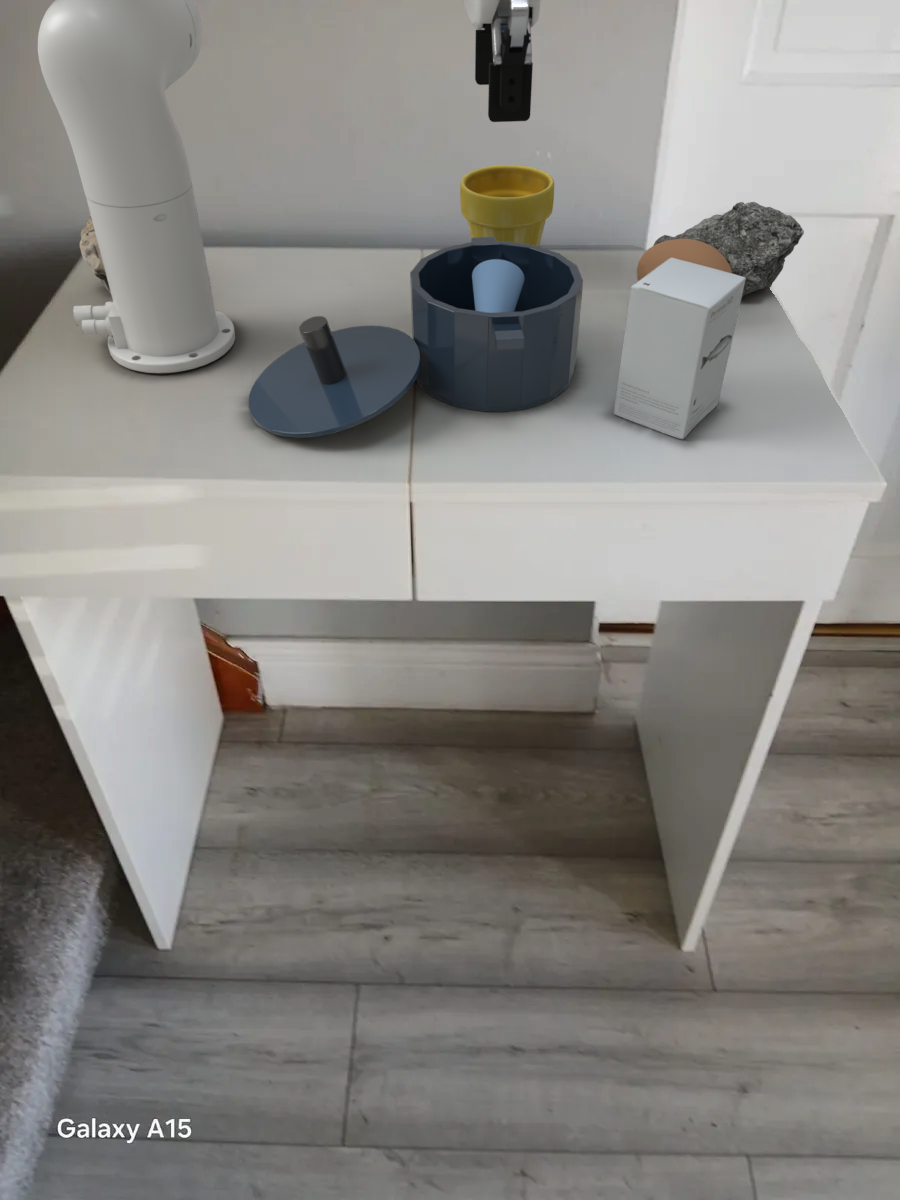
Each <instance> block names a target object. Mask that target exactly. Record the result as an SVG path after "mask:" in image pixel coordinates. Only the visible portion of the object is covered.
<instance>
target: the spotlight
mask: <svg viewBox="0 0 900 1200" xmlns="http://www.w3.org/2000/svg"><path fill="white" fill-rule="evenodd" d="M472 282H473V292H474V302H475V311H481V312H488V313H498V312H514V311H515V308H516V305H517V302H518V299H519V296H520V292H521V289H522V286H523V283H524V274H523V272H522V271H521V269H520V268H519V267H518V266H516V265H515V264H513V263H511V262H509V261H505V260H499V259H493V260H487V261H484V262H482V263H480V264H478V265H477V266H476V267H475V268H474V270H473V272H472Z"/></svg>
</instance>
